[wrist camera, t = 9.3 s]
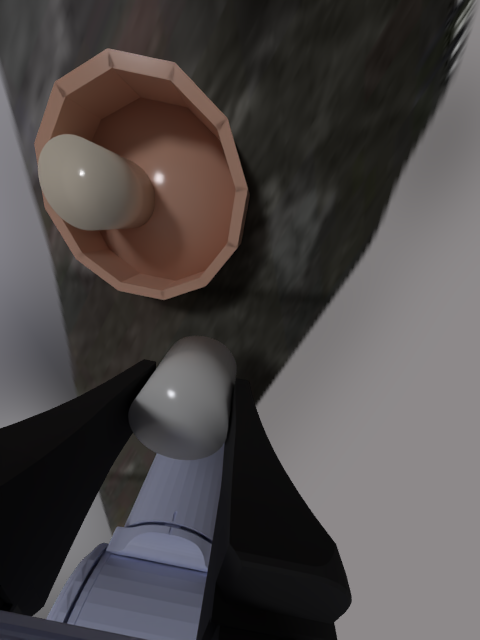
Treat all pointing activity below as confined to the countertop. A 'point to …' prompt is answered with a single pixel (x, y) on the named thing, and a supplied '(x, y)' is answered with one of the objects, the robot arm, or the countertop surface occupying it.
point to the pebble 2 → (186, 400)
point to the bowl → (154, 172)
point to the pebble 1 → (94, 185)
